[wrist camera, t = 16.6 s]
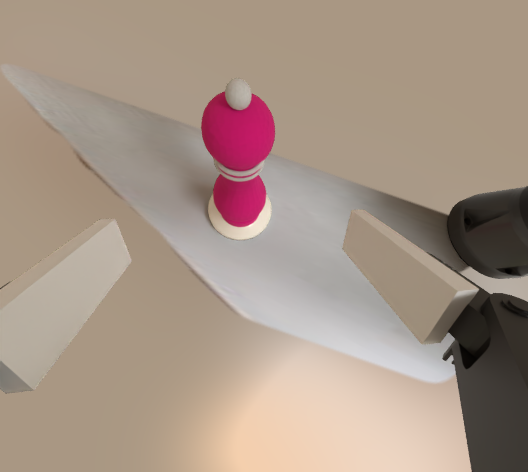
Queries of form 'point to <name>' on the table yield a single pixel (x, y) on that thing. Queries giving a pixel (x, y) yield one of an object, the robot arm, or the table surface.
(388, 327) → the table surface
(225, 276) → the table surface
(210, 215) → the cream dome
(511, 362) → the robot arm
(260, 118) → the pepper mill
